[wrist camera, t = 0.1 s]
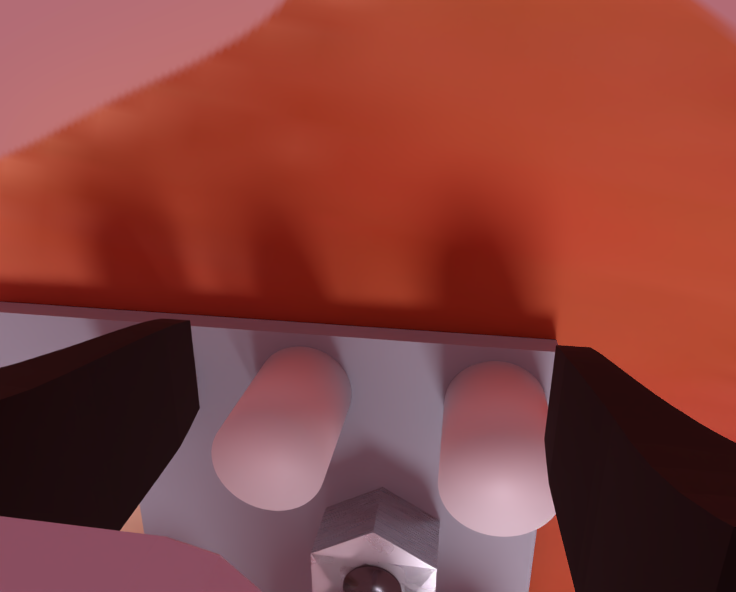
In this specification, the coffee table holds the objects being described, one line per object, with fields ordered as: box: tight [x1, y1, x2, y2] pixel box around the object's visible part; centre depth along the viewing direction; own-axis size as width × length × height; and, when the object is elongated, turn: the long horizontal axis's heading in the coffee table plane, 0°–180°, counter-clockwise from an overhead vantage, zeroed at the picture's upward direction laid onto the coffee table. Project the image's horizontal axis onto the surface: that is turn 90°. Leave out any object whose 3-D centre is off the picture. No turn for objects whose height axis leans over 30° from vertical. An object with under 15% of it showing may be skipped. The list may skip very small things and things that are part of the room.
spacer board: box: [0, 302, 558, 592], centre depth 24 cm, size 18×23×6 cm
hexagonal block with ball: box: [311, 487, 440, 592], centre depth 24 cm, size 5×5×3 cm
